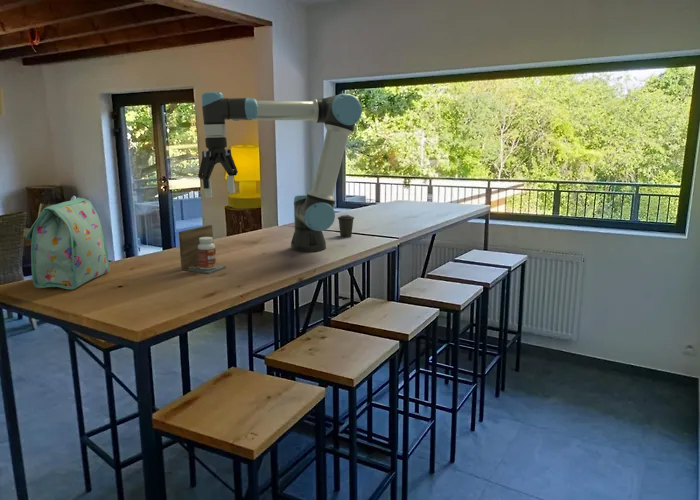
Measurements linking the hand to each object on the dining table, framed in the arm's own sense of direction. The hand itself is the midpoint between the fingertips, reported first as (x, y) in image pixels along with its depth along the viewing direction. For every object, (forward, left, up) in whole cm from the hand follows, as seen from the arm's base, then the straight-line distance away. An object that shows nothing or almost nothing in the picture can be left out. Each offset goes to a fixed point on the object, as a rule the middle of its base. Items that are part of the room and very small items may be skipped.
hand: (220, 195), depth 189 cm
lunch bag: (+28, +42, -26) cm, 57 cm away
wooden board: (+5, +8, -26) cm, 27 cm away
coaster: (-2, +11, -26) cm, 28 cm away
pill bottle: (-2, +12, -25) cm, 28 cm away
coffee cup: (-20, -67, -26) cm, 74 cm away
